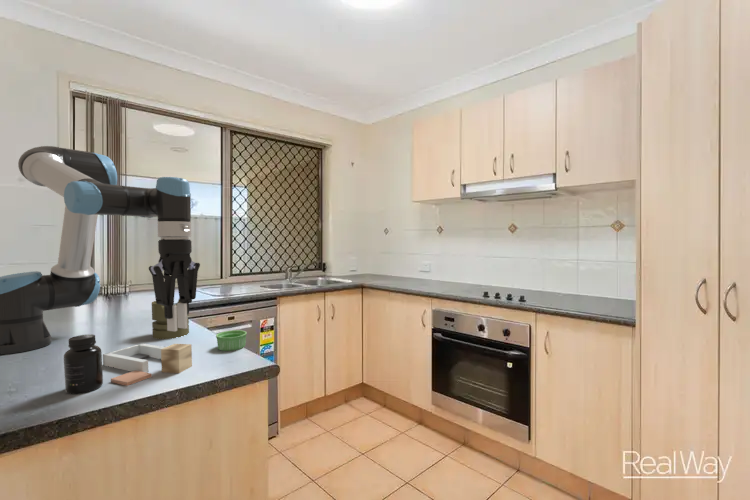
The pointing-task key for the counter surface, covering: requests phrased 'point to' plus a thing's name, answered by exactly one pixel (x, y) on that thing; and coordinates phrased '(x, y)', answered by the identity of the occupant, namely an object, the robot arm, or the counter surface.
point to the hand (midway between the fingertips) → (177, 329)
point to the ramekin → (231, 340)
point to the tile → (131, 377)
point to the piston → (164, 324)
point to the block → (176, 358)
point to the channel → (132, 357)
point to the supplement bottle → (83, 365)
